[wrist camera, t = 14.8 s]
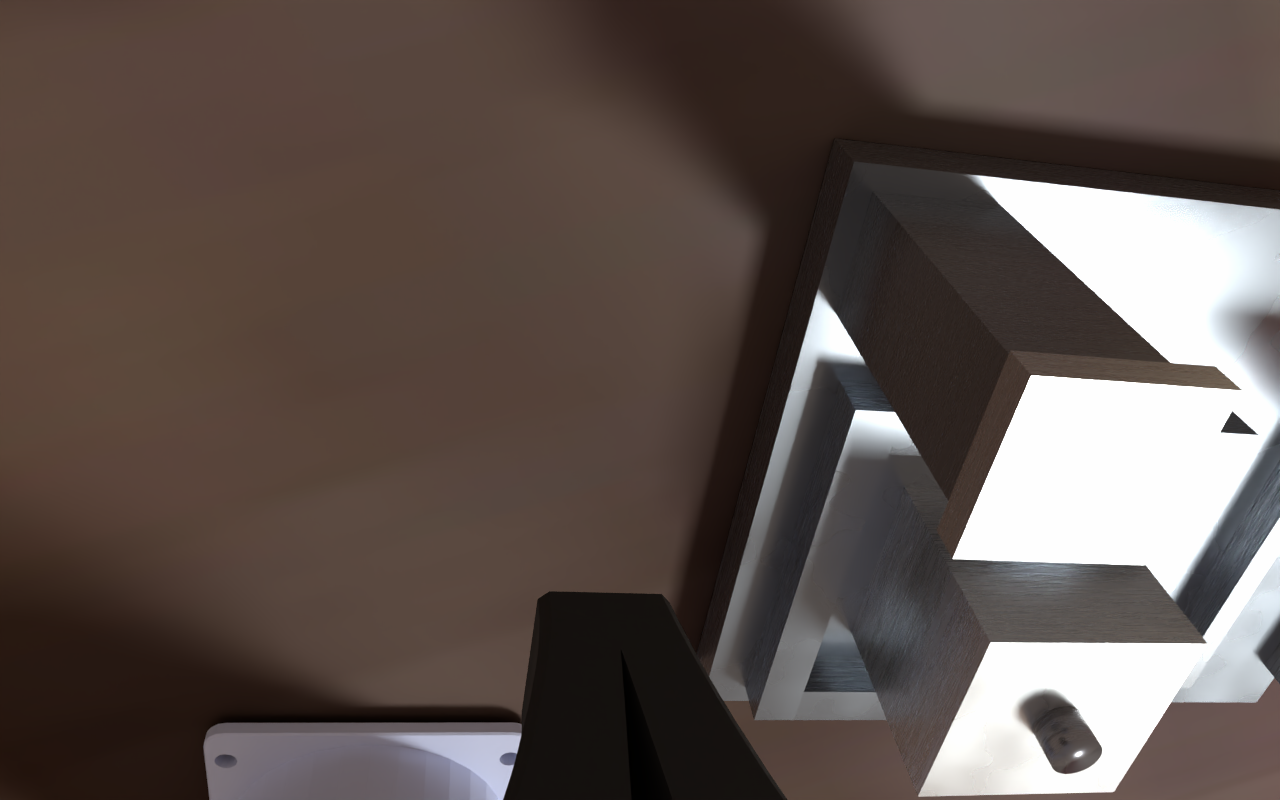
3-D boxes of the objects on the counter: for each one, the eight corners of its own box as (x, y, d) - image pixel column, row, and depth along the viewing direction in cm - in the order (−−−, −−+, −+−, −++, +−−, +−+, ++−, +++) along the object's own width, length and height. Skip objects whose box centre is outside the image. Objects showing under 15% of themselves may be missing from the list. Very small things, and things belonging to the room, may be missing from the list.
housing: (1020, 635, 25) (1133, 825, 21) (852, 633, 24) (932, 831, 20) (1090, 494, 23) (1233, 676, 18) (904, 487, 22) (1010, 676, 18)
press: (1230, 668, 29) (1441, 936, 23) (694, 663, 26) (763, 971, 20) (1535, 220, 22) (1980, 429, 15) (834, 138, 19) (1019, 356, 12)
